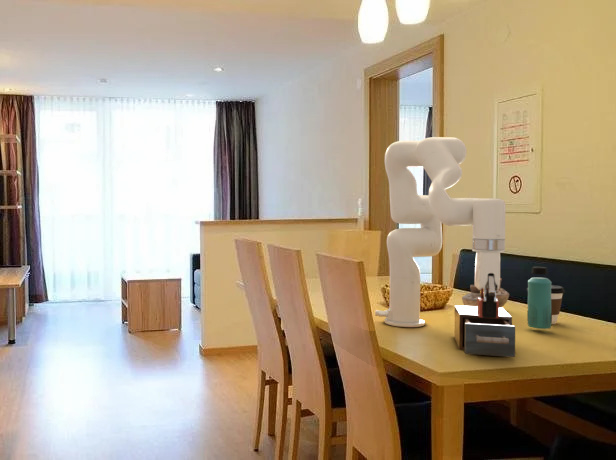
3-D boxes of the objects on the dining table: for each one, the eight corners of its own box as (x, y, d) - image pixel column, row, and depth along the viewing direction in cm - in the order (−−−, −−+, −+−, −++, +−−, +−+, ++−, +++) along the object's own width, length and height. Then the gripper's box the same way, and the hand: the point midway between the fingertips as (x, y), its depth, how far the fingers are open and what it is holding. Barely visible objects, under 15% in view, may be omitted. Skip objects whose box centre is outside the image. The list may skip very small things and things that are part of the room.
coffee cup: (546, 318, 197) (547, 283, 197) (572, 325, 187) (573, 288, 186) (518, 319, 195) (519, 284, 195) (543, 326, 185) (543, 289, 184)
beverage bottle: (555, 334, 174) (556, 268, 173) (531, 333, 175) (532, 267, 174) (546, 329, 180) (547, 265, 179) (523, 328, 181) (524, 265, 181)
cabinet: (511, 352, 152) (512, 316, 152) (459, 349, 156) (459, 314, 156) (502, 340, 166) (502, 307, 166) (454, 337, 170) (454, 305, 170)
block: (479, 317, 149) (479, 300, 149) (477, 314, 153) (477, 297, 153) (498, 318, 147) (499, 300, 147) (495, 315, 152) (496, 298, 152)
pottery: (514, 310, 213) (514, 278, 212) (491, 320, 195) (491, 285, 194) (481, 307, 220) (481, 275, 220) (456, 316, 203) (457, 282, 202)
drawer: (518, 362, 140) (519, 330, 140) (467, 358, 144) (467, 327, 143) (505, 344, 157) (505, 316, 157) (459, 341, 161) (460, 314, 161)
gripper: (468, 243, 159) (468, 309, 160) (476, 247, 143) (476, 320, 144) (499, 244, 156) (498, 310, 157) (510, 248, 140) (509, 322, 141)
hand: (487, 314), depth 150 cm, fingers closed on block, 4 cm apart
